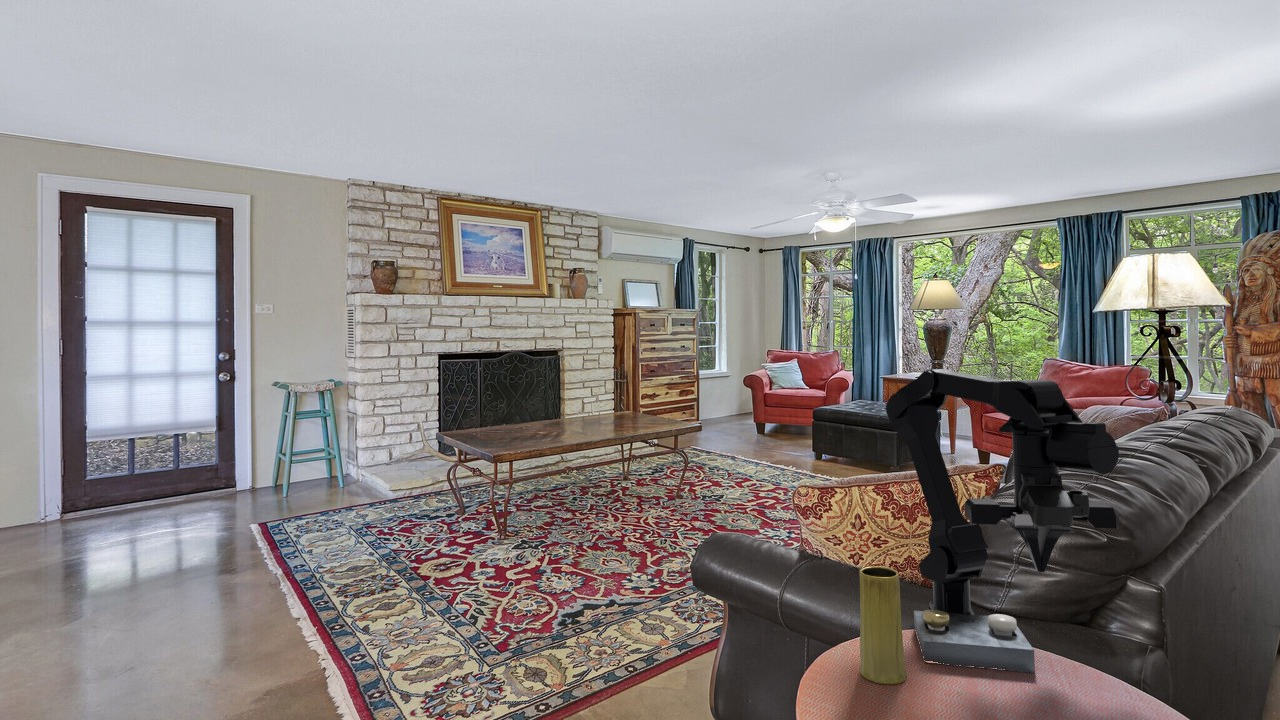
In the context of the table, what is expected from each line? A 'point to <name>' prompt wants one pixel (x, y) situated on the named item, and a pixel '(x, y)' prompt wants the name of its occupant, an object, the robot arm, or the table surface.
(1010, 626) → the knob ivory
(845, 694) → the table surface
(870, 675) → the vase
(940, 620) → the knob brass
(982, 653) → the mount
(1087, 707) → the table surface
